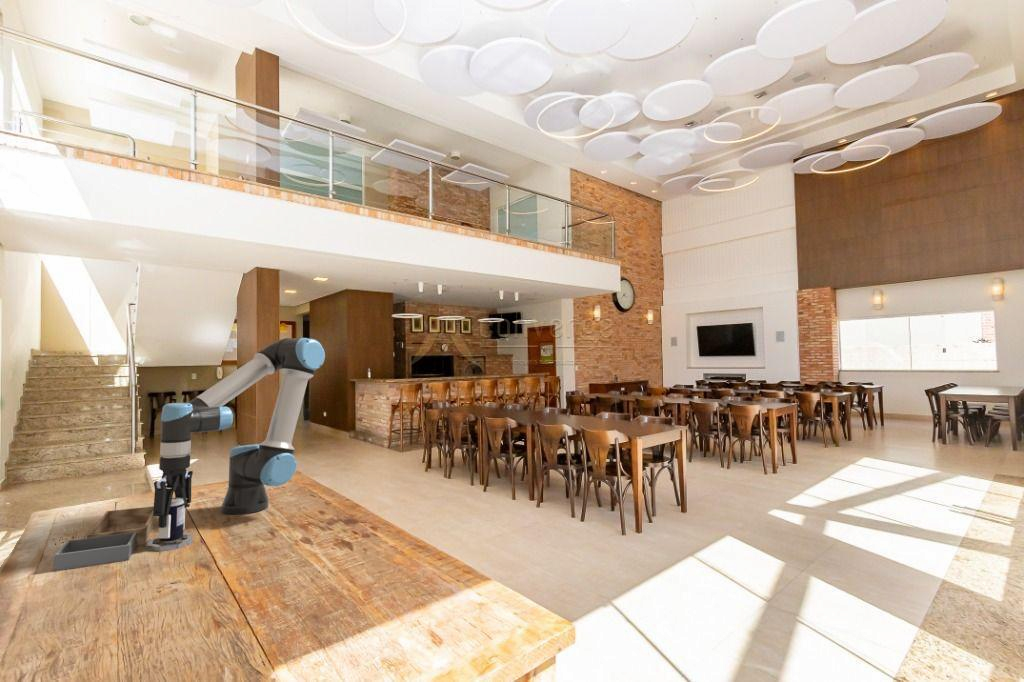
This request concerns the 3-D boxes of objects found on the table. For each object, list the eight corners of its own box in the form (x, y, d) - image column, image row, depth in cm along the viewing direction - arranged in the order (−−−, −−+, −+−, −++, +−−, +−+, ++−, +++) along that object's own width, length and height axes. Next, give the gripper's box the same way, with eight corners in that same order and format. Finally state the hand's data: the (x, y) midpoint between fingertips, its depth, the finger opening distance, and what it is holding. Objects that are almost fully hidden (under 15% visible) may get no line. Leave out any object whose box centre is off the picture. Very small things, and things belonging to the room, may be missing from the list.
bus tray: (135, 545, 140) (136, 531, 140) (128, 560, 130) (129, 545, 130) (66, 555, 132) (67, 540, 132) (53, 571, 122) (54, 555, 122)
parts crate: (156, 519, 162) (157, 505, 162) (144, 543, 141) (145, 528, 141) (106, 525, 156) (107, 511, 156) (86, 551, 135) (87, 535, 135)
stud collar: (193, 534, 149) (194, 530, 149) (191, 546, 140) (191, 542, 140) (150, 540, 144) (150, 536, 144) (144, 553, 134) (144, 549, 134)
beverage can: (175, 535, 146) (177, 496, 146) (187, 539, 144) (189, 498, 144) (155, 542, 141) (157, 501, 141) (167, 545, 138) (169, 503, 139)
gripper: (183, 449, 152) (180, 522, 152) (138, 461, 134) (134, 545, 133) (207, 449, 152) (204, 523, 152) (166, 462, 134) (162, 546, 133)
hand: (171, 533), depth 142 cm, fingers closed on beverage can, 6 cm apart
